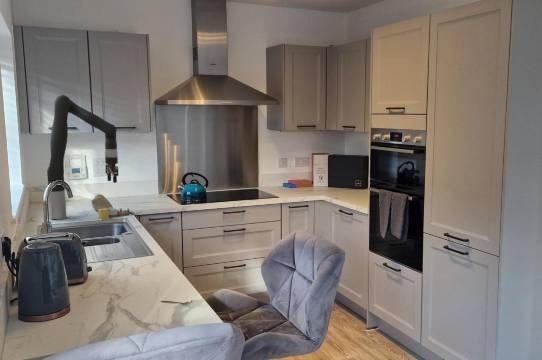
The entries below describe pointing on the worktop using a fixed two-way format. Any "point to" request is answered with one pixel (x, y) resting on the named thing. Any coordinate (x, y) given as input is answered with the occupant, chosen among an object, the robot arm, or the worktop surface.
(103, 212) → the jaw block
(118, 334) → the worktop surface
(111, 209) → the keeper
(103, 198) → the fossil tooth
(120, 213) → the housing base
